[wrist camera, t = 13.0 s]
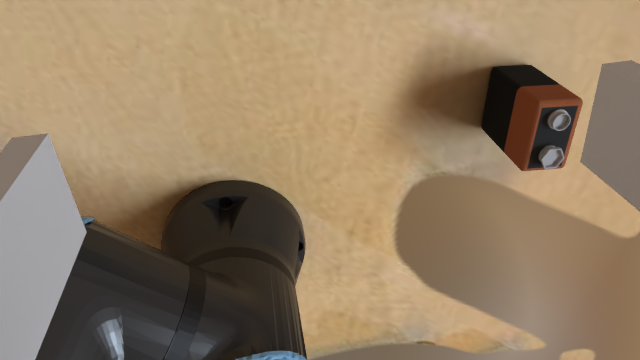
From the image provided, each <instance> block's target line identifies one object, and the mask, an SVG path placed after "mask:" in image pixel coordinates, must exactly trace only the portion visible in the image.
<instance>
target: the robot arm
mask: <svg viewBox="0 0 640 360" xmlns="http://www.w3.org/2000/svg"><path fill="white" fill-rule="evenodd" d="M580 162H581V163H582V164H584V165H585V166H586V167H587V168H588V169H590V170H591V171H592V172H593V173H594V174H596V175H597V176H598V177H599V178H600V179H602V180H603V181H604V182H605V183H606V184H608V185H609V186H610V187H611V188H612V189H614V190H615V191H616V192H617V193H618V194H619V195H621V196H622V197H623V198H624V199H625V200H627V201H628V202H629V203H630V204H631V205H633V206H634V207H635V208H636V209H637V210H639V211H640V64H638V63H636V62H634V61H632V60H630V61H623V62H615V63H607V64H602V67H601V72H600V76H599V81H598V85H597V90H596V94H595V99H594V103H593V108H592V112H591V116H590V121H589V125H588V130H587V134H586V139H585V143H584V148H583V152H582V157H581V161H580ZM304 255H305V236H304V231H303V225H302V222H301V219H300V216H299V214H298V213H297V211H296V209H295V208H294V207H293V205H292V204H291V203H290V202H289V201H288V200H287V199H286V198H285V197H283V196H282V195H281V194H279V193H278V192H276V191H274V190H272V189H270V188H268V187H266V186H263V185H260V184H256V183H252V182H245V181H224V182H218V183H213V184H210V185H207V186H204V187H201V188H199V189H197V190H195V191H193V192H191V193H190V194H188V195H187V196H185V197H184V198H183V199H182V200H181V201H179V202H178V203H177V205H176V206H175V207H174V208H173V209H172V211H171V212H170V214H169V216H168V218H167V220H166V223H165V226H164V230H163V235H162V241H161V250H159V249H157V248H154V247H152V246H150V245H148V244H145V243H143V242H141V241H139V240H136V239H134V238H132V237H130V236H128V235H125V234H123V233H121V232H119V231H116V230H114V229H112V228H110V227H107V226H105V225H103V224H101V223H98V222H96V221H95V218H93V217H89V216H86V217H83V216H80V214H79V211H78V209H77V206H76V203H75V201H74V198H73V196H72V193H71V191H70V188H69V186H68V183H67V180H66V178H65V175H64V173H63V170H62V168H61V165H60V163H59V160H58V157H57V155H56V152H55V150H54V147H53V145H52V142H51V140H50V137H49V134H40V135H32V136H24V137H16V138H12V139H11V140H10V141H9V143H8V144H7V145H6V146H5V148H4V149H3V150H2V151H1V152H0V360H307V356H306V350H305V344H304V338H303V332H302V326H301V319H300V313H299V307H298V301H297V295H296V289H295V285H296V282H297V279H298V276H299V273H300V269H301V266H302V263H303V260H304Z"/></svg>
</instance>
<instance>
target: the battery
mask: <svg viewBox="0 0 640 360" xmlns="http://www.w3.org/2000/svg"><path fill="white" fill-rule="evenodd" d="M582 103H583V102H582V99H581V98H579V97H578V96H576V95H575V94H573V93H572V92H570V91H569V90H568V89H566V88H565V87H563V86H562V85H560V84H559V83H557V82H556V81H554V80H553V79H551V78H550V77H548V76H547V75H545V74H544V73H542V72H541V71H539V70H538V69H536V68H535V67H533V66H532V65H522V66H501V67H494V68H493V69H492V71H491V76H490V81H489V87H488V92H487V98H486V103H485V109H484V114H483V120H482V129H483V130H484V131H485V132H486V134H487V135H488V136H489V137H490V138H491V139H492V140H493V141H494V142H495V143H496V144H497V145H498V146H499V147H500V148H501V150H502V151H503V152H504V153H505V154H506V155H507V156H508V157H509V158H510V159H511V160H512V161H513V162H514V163H515V164H516V165H517V167H518V168H519V169H520V170H522V171H531V170H544V169H557V168H562V167H564V165H565V163H566V159H567V156H568V153H569V149H570V146H571V142H572V139H573V135H574V132H575V128H576V125H577V121H578V118H579V114H580V111H581V107H582Z"/></svg>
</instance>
